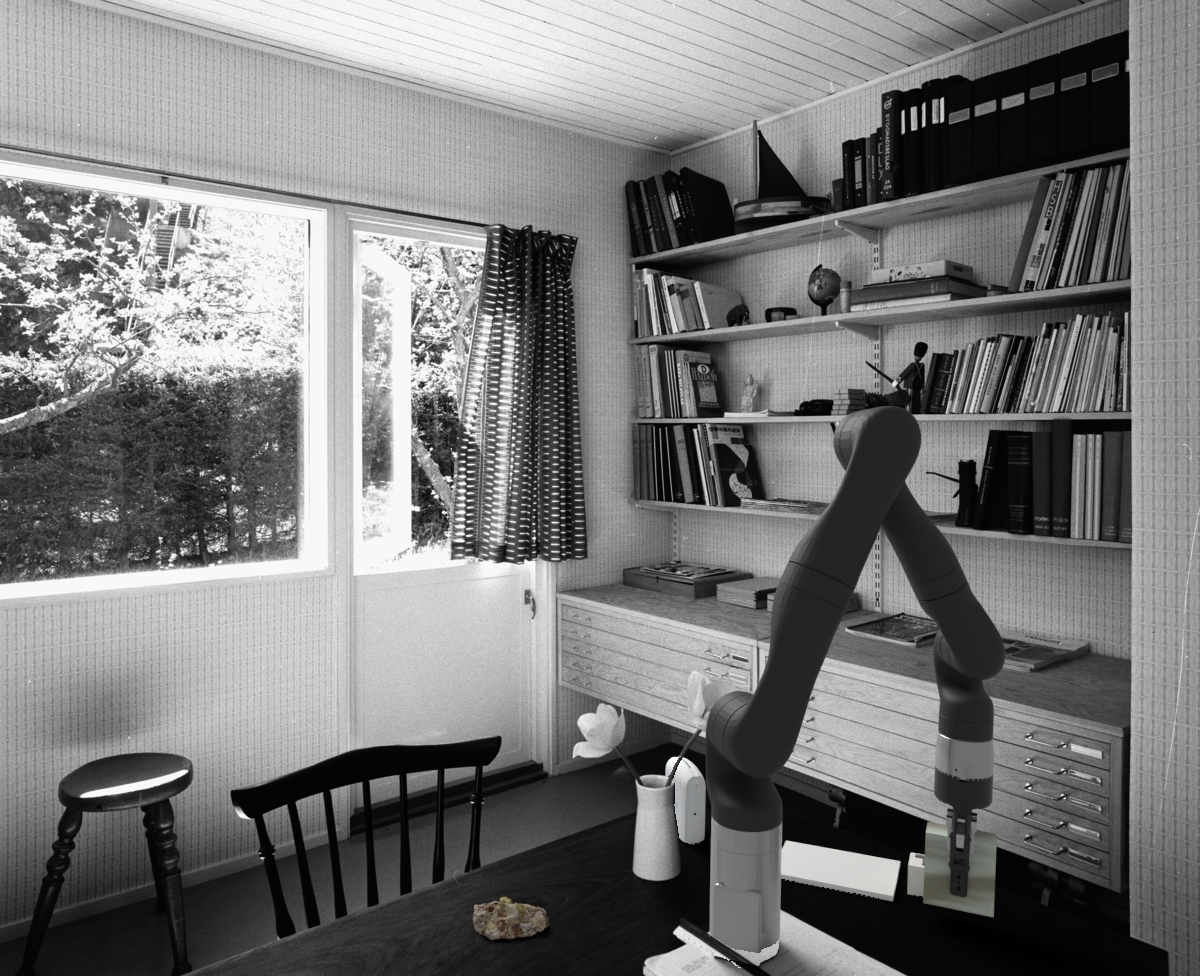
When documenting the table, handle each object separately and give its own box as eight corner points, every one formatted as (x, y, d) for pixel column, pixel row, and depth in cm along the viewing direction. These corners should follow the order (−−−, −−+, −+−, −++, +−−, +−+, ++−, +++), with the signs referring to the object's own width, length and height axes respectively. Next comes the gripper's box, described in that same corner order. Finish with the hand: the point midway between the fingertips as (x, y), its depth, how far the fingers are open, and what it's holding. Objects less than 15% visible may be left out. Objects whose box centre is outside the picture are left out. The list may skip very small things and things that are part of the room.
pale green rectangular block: (993, 917, 123) (996, 845, 122) (923, 902, 126) (925, 832, 126) (993, 903, 126) (996, 833, 126) (925, 890, 130) (927, 821, 129)
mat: (892, 901, 132) (893, 896, 132) (770, 877, 139) (770, 872, 139) (900, 866, 143) (900, 861, 143) (786, 845, 150) (786, 840, 150)
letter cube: (939, 901, 132) (940, 869, 132) (907, 894, 134) (908, 863, 134) (941, 887, 137) (942, 856, 136) (909, 881, 138) (910, 851, 138)
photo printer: (708, 843, 151) (709, 770, 150) (684, 846, 149) (685, 772, 149) (684, 818, 160) (685, 749, 160) (661, 821, 159) (662, 751, 158)
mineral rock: (463, 925, 120) (478, 881, 128) (464, 951, 122) (479, 906, 129) (543, 933, 119) (553, 888, 127) (544, 959, 121) (553, 913, 128)
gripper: (937, 747, 133) (933, 861, 134) (931, 779, 120) (926, 905, 121) (993, 755, 130) (988, 871, 131) (993, 788, 117) (988, 918, 118)
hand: (958, 887), depth 126 cm, fingers closed on pale green rectangular block, 4 cm apart
